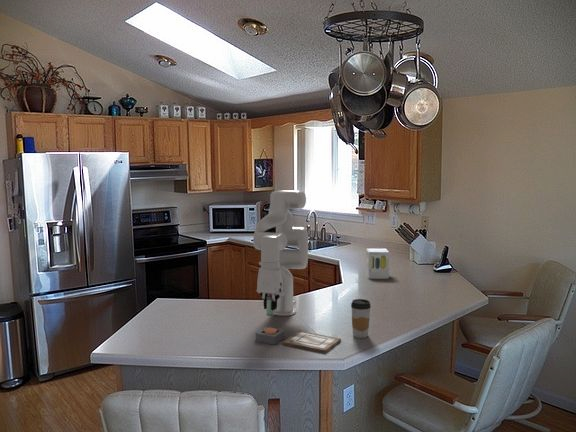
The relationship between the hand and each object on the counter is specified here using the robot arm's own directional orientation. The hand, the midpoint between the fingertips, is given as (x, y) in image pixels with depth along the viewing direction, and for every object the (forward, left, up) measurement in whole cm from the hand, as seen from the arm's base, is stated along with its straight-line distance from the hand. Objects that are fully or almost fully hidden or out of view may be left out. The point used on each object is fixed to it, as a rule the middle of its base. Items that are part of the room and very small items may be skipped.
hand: (270, 308), depth 205 cm
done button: (0, 0, -11) cm, 11 cm away
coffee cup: (-23, +31, -13) cm, 41 cm away
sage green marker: (0, 0, -3) cm, 3 cm away
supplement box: (-132, 0, -14) cm, 133 cm away
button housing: (0, 0, -13) cm, 13 cm away
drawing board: (-5, +17, -13) cm, 22 cm away
